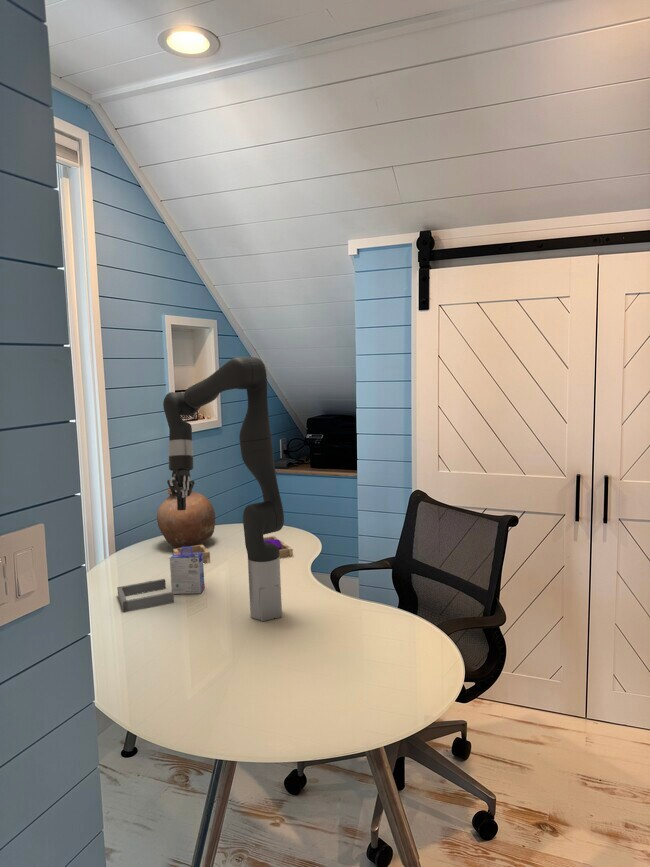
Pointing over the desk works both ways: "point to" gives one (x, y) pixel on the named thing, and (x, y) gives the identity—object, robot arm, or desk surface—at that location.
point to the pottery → (186, 520)
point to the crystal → (274, 542)
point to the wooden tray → (196, 550)
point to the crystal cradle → (282, 548)
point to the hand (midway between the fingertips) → (181, 510)
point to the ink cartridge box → (187, 572)
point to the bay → (144, 601)
